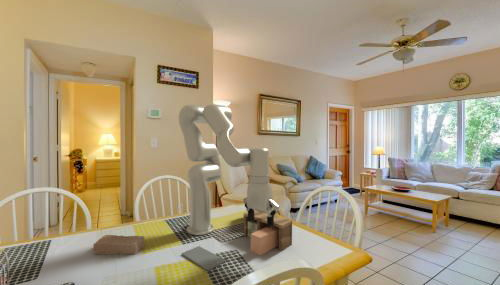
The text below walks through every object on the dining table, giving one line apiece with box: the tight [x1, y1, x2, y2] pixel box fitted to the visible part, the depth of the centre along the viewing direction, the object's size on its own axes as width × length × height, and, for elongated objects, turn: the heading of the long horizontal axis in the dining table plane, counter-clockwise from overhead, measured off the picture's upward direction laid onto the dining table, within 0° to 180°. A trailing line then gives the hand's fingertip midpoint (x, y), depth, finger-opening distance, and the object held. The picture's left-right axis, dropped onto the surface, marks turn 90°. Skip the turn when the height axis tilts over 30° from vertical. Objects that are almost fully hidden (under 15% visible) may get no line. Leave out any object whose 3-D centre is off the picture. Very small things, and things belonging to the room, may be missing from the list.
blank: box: [250, 226, 279, 256], centre depth 96 cm, size 5×12×7 cm, turn 137°
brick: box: [92, 234, 145, 255], centre depth 95 cm, size 17×8×5 cm, turn 91°
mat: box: [181, 245, 226, 272], centre depth 88 cm, size 16×8×1 cm, turn 48°
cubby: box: [243, 210, 293, 252], centre depth 104 cm, size 21×7×10 cm, turn 48°
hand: (260, 223), depth 93 cm, fingers open, 9 cm apart
